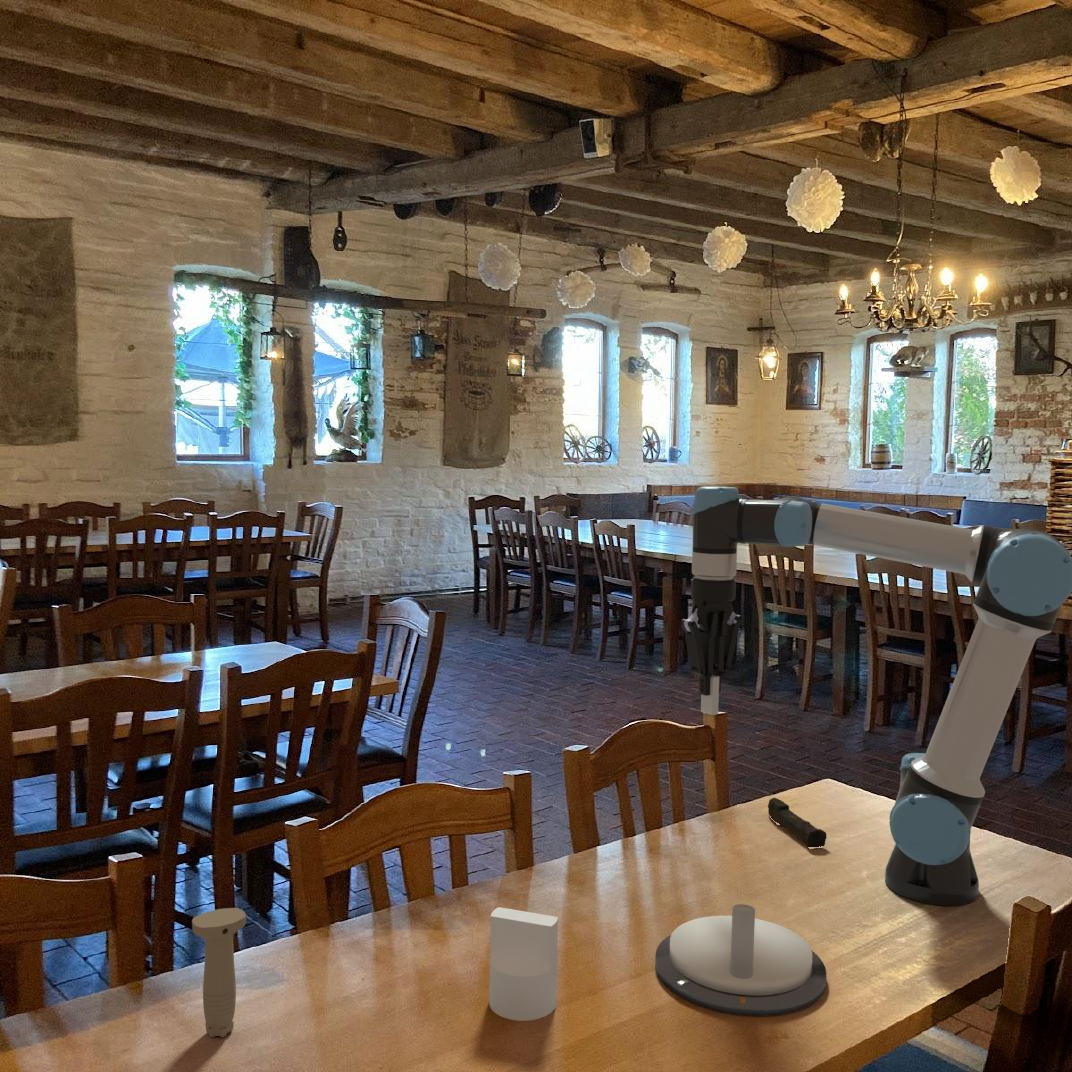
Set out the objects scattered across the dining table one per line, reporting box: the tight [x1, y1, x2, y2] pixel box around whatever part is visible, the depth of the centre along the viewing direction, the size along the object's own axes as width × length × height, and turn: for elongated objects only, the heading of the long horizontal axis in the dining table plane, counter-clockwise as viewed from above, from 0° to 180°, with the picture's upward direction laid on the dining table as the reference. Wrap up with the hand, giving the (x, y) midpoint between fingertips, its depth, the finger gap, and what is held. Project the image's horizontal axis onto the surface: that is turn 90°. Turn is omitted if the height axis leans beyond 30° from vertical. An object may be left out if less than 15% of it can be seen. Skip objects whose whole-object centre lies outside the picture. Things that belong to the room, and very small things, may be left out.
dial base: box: [654, 933, 827, 1017], centre depth 152 cm, size 24×24×2 cm
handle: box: [191, 907, 247, 1038], centre depth 134 cm, size 5×6×15 cm
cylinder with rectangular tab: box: [488, 906, 559, 1022], centre depth 142 cm, size 9×9×12 cm
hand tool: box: [767, 797, 827, 848], centre depth 209 cm, size 19×4×5 cm, turn 13°
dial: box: [670, 903, 813, 996], centre depth 152 cm, size 20×20×11 cm
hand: (709, 712), depth 183 cm, fingers closed
